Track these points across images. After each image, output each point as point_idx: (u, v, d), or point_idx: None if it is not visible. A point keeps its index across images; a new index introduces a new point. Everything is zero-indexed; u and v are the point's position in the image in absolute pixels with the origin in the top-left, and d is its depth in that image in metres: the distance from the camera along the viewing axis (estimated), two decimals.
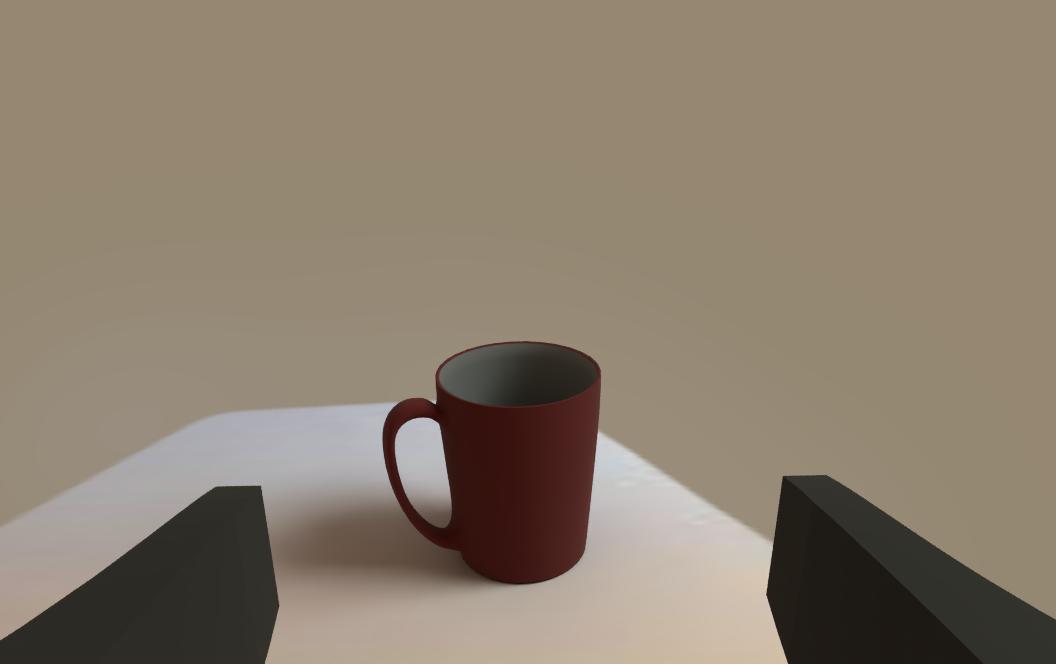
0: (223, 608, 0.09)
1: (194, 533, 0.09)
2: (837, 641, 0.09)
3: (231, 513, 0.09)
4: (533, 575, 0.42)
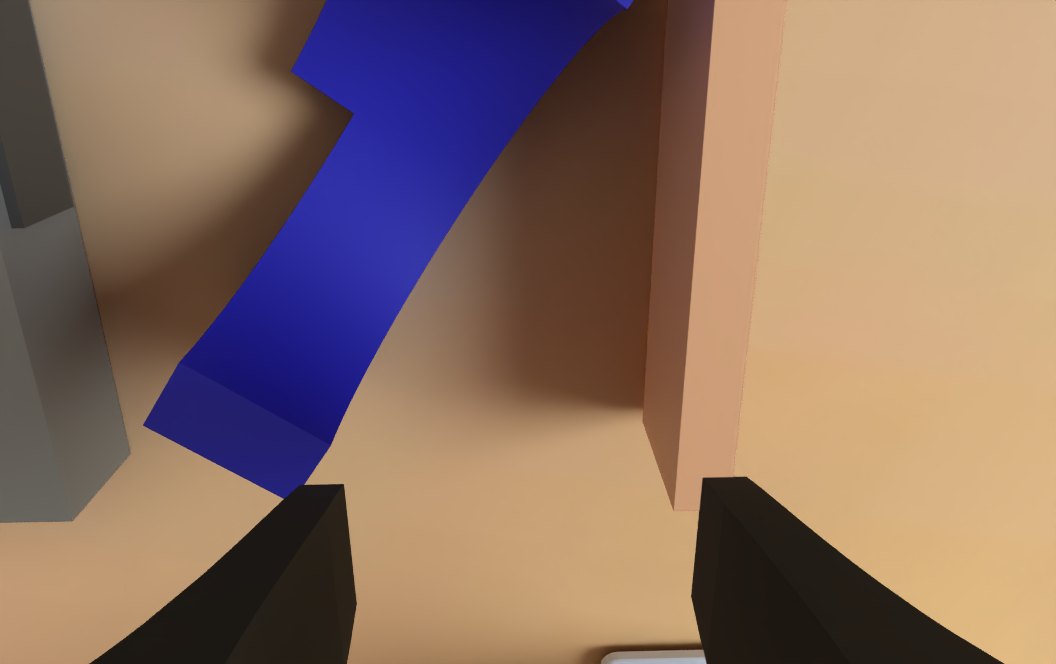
0: (317, 606, 0.09)
1: (292, 531, 0.09)
2: (744, 643, 0.09)
3: (323, 511, 0.09)
4: None
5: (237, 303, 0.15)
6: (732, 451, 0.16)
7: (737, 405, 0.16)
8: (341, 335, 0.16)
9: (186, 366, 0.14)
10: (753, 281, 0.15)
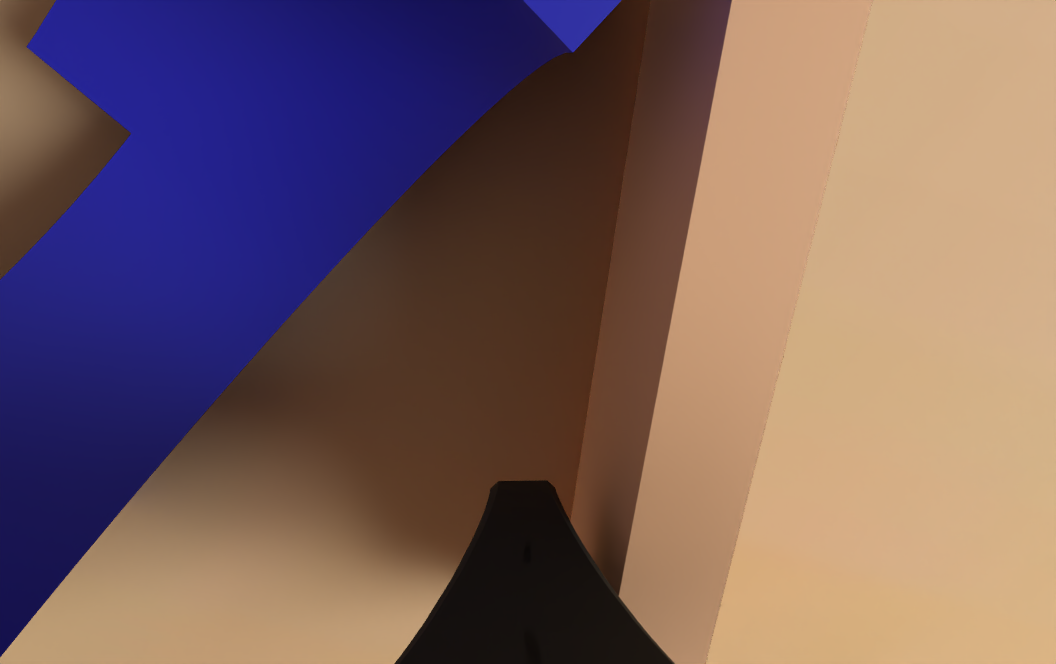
0: None
1: (525, 527, 0.09)
2: None
3: (544, 507, 0.09)
4: None
5: None
6: None
7: None
8: (47, 495, 0.10)
9: None
10: (740, 508, 0.09)
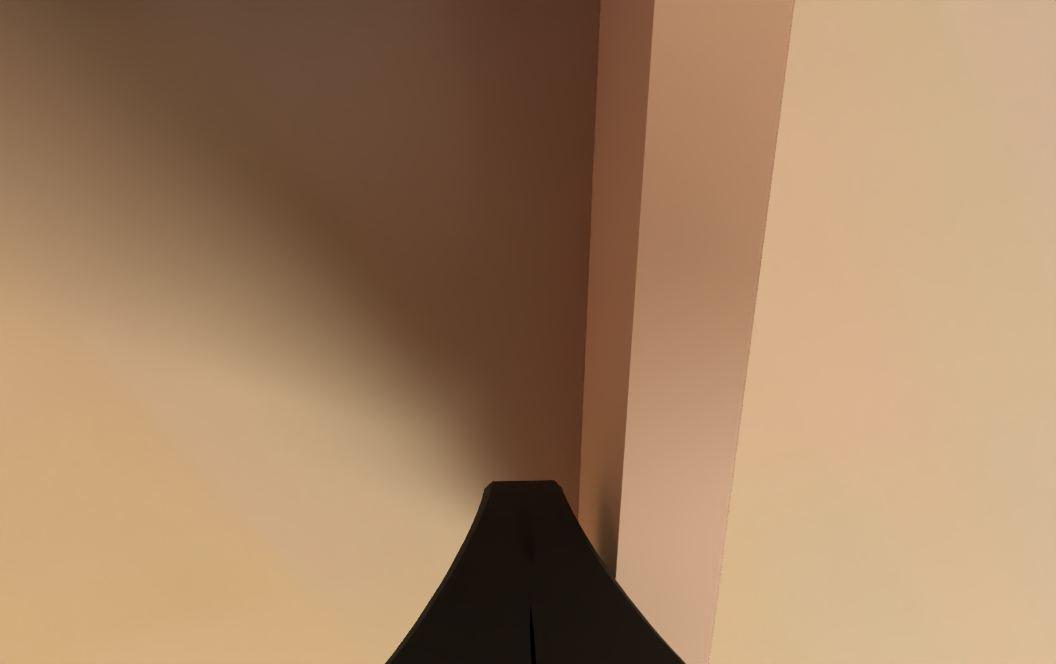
0: None
1: (518, 527, 0.09)
2: None
3: (538, 507, 0.09)
4: None
5: None
6: None
7: None
8: None
9: None
10: (729, 483, 0.08)
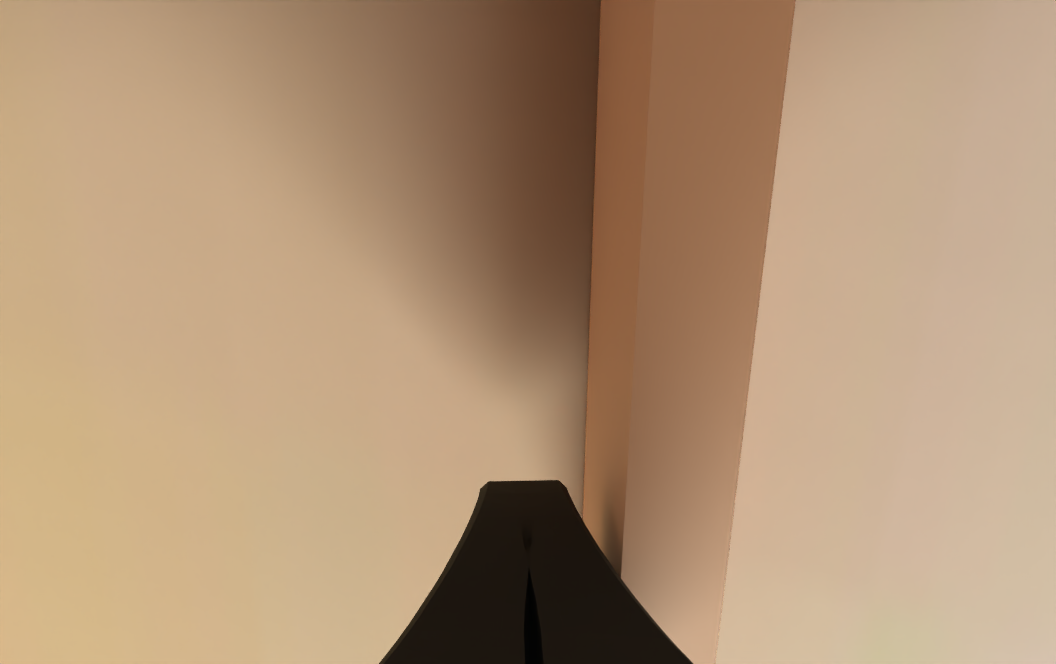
0: None
1: (513, 527, 0.09)
2: None
3: (533, 507, 0.09)
4: None
5: None
6: None
7: None
8: None
9: None
10: (733, 482, 0.08)
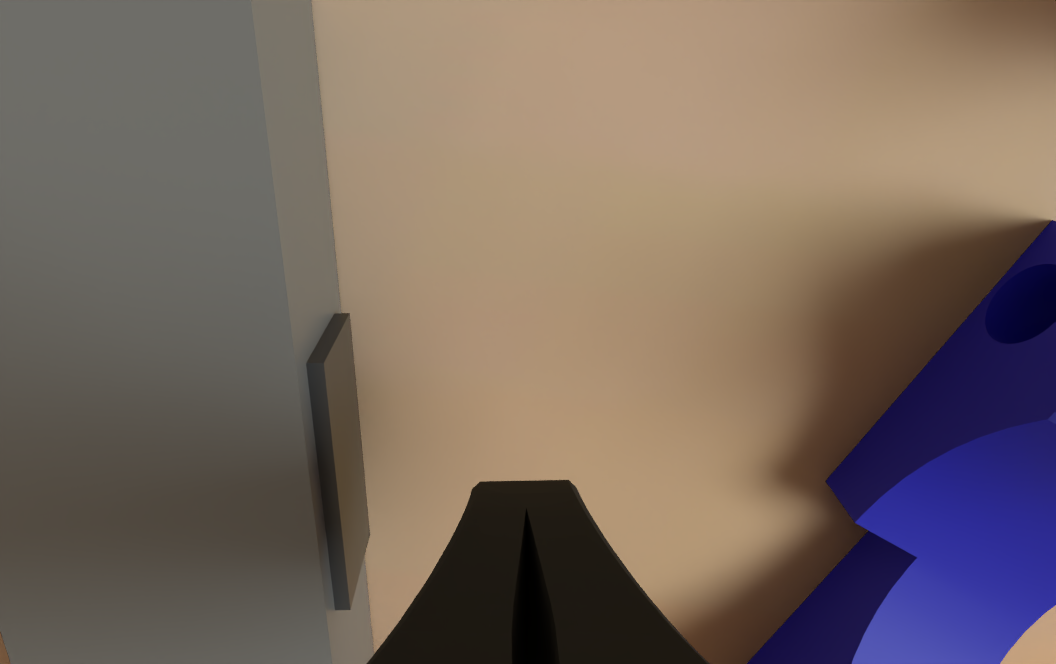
0: (523, 601, 0.09)
1: (503, 527, 0.09)
2: (536, 648, 0.09)
3: (524, 507, 0.09)
4: None
5: None
6: None
7: None
8: None
9: None
10: None
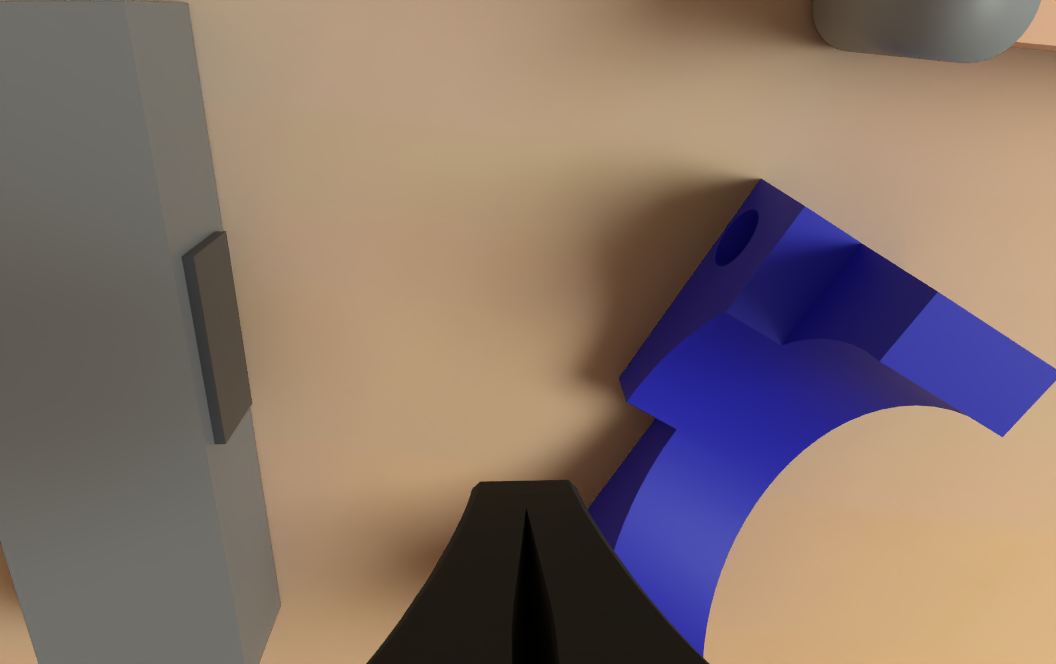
0: (523, 601, 0.09)
1: (503, 527, 0.09)
2: (536, 648, 0.09)
3: (524, 508, 0.09)
4: None
5: None
6: None
7: None
8: (679, 622, 0.19)
9: None
10: None
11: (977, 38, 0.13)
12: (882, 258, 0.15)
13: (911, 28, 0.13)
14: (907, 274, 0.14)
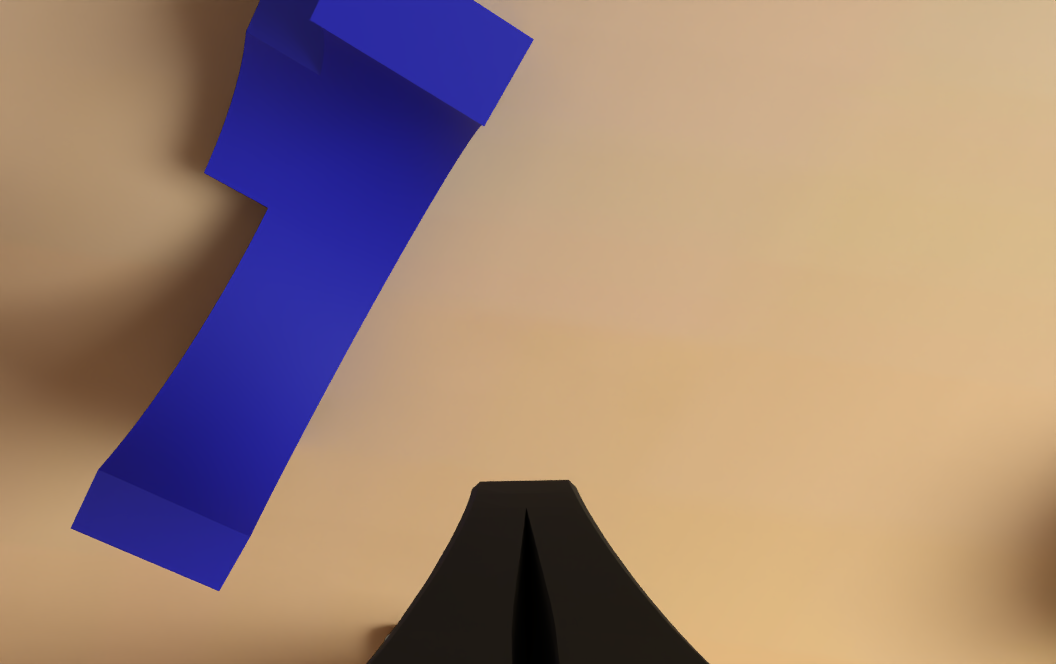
0: (523, 601, 0.09)
1: (503, 527, 0.09)
2: (536, 648, 0.09)
3: (524, 507, 0.09)
4: None
5: (161, 400, 0.16)
6: None
7: None
8: (266, 421, 0.17)
9: (105, 472, 0.14)
10: None
11: None
12: None
13: None
14: None
